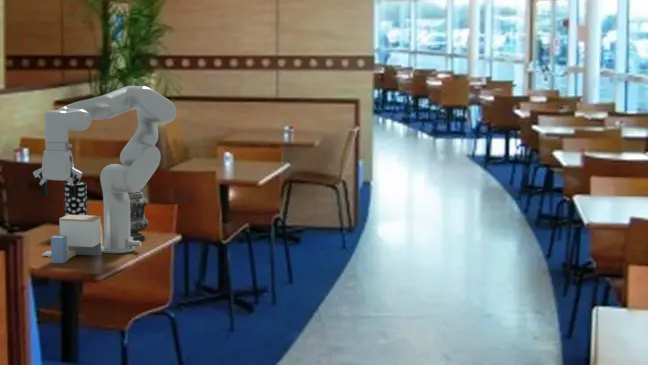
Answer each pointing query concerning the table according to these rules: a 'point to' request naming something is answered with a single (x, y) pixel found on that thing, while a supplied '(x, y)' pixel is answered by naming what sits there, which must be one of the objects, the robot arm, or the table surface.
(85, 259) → the table surface
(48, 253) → the block
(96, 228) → the cabinet
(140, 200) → the apothecary jar
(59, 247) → the light blue block
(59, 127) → the robot arm
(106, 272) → the table surface
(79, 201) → the spotted tube
